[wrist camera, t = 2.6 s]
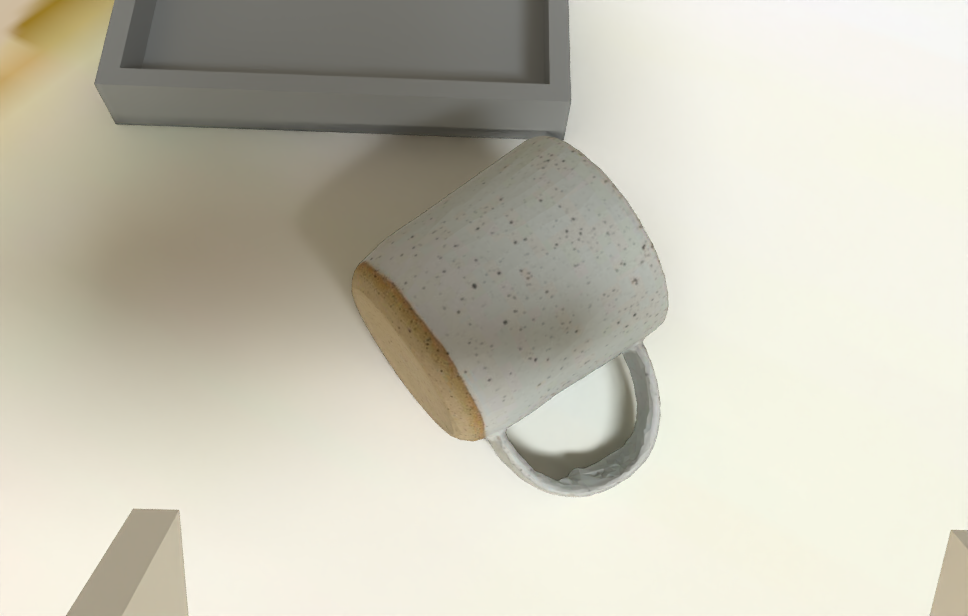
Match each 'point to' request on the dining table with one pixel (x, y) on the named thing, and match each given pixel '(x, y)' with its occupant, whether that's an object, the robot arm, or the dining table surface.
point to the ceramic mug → (520, 303)
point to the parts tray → (341, 66)
